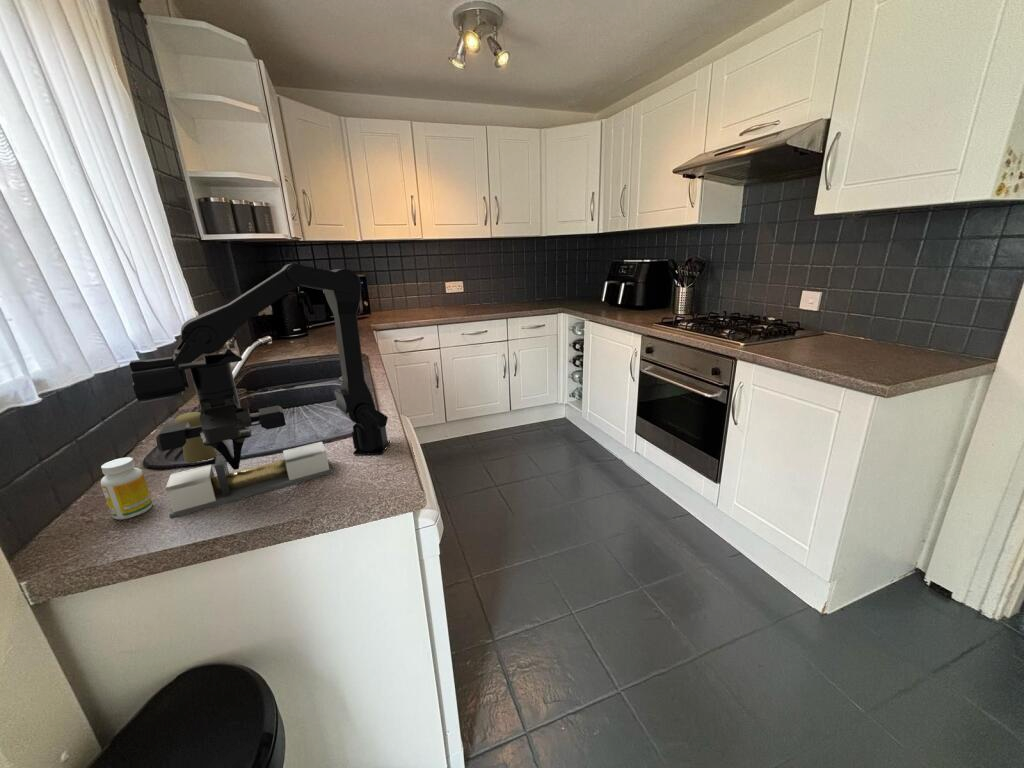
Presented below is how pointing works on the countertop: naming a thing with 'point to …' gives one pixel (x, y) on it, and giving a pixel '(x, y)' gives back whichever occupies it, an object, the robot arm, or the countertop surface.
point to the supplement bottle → (125, 488)
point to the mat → (251, 490)
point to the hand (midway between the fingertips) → (236, 468)
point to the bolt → (244, 475)
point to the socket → (191, 488)
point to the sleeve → (306, 460)
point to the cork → (195, 441)
